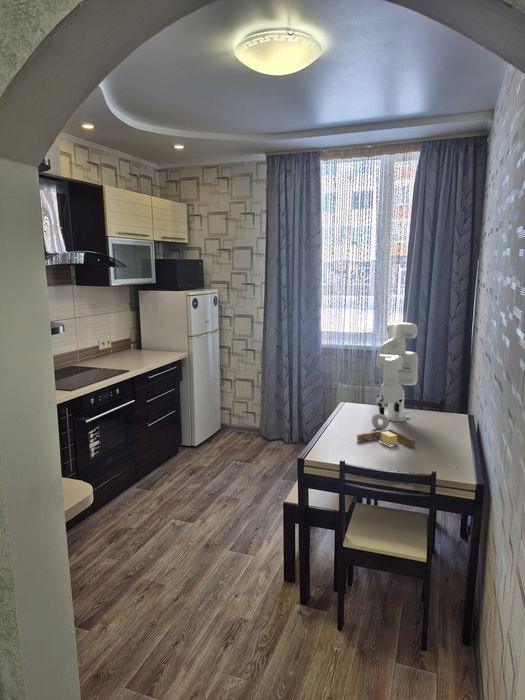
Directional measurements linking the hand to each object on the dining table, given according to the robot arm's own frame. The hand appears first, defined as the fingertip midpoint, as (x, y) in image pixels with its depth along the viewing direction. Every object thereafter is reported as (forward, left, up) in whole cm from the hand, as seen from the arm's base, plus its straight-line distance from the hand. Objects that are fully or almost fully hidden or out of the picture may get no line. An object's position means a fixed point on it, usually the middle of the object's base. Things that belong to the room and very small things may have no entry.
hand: (389, 412), depth 244 cm
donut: (-9, -19, -17) cm, 27 cm away
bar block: (0, 0, -17) cm, 17 cm away
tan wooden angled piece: (+3, +1, -17) cm, 17 cm away
